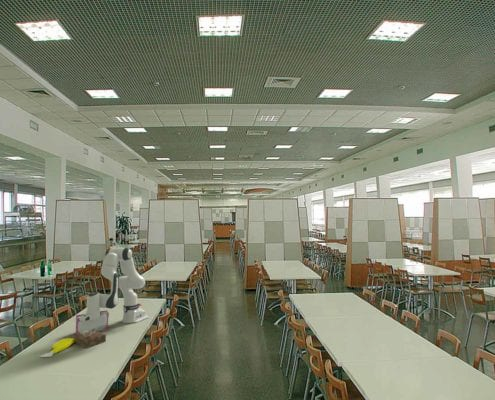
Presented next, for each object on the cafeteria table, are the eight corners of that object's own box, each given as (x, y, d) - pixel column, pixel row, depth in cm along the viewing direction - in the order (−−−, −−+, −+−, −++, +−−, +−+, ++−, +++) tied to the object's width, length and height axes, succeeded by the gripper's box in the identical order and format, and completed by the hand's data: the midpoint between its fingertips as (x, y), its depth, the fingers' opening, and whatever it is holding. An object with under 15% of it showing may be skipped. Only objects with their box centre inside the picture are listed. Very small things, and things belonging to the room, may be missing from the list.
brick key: (94, 338, 225) (94, 332, 225) (98, 339, 222) (98, 334, 222) (87, 340, 221) (87, 335, 221) (91, 342, 218) (91, 336, 218)
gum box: (107, 326, 256) (108, 309, 257) (109, 329, 250) (110, 312, 250) (75, 332, 243) (75, 315, 243) (76, 335, 236) (76, 317, 237)
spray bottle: (76, 341, 223) (54, 358, 198) (61, 342, 223) (37, 359, 199) (76, 337, 223) (54, 354, 198) (61, 338, 223) (37, 354, 199)
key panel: (91, 335, 235) (91, 329, 236) (105, 341, 224) (105, 334, 224) (72, 342, 224) (72, 335, 224) (86, 348, 213) (86, 340, 213)
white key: (87, 334, 231) (87, 328, 231) (90, 335, 228) (90, 330, 228) (80, 336, 226) (80, 331, 226) (83, 337, 223) (83, 332, 224)
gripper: (104, 310, 233) (103, 329, 232) (76, 318, 216) (76, 338, 215) (108, 312, 229) (108, 331, 228) (81, 319, 212) (81, 340, 211)
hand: (92, 334), depth 221 cm, fingers closed, pressing on brick key
